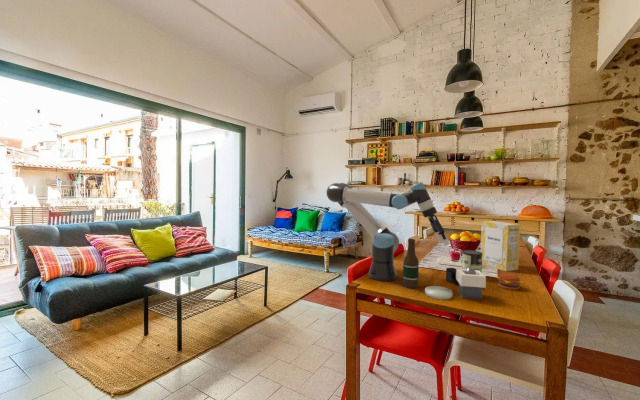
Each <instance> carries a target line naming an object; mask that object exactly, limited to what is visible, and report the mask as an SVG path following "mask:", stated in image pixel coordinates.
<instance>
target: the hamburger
mask: <svg viewBox="0 0 640 400" xmlns="http://www.w3.org/2000/svg"><path fill="white" fill-rule="evenodd" d="M495 278H496V279H498V287H499V288H502V289H505V290H509V291H518V290H520V284H524V281H523V280H521V279H520V277H518V276H517V275H515V274H511V273H501V274H499V275H498V276H497V277H495Z"/></svg>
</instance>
